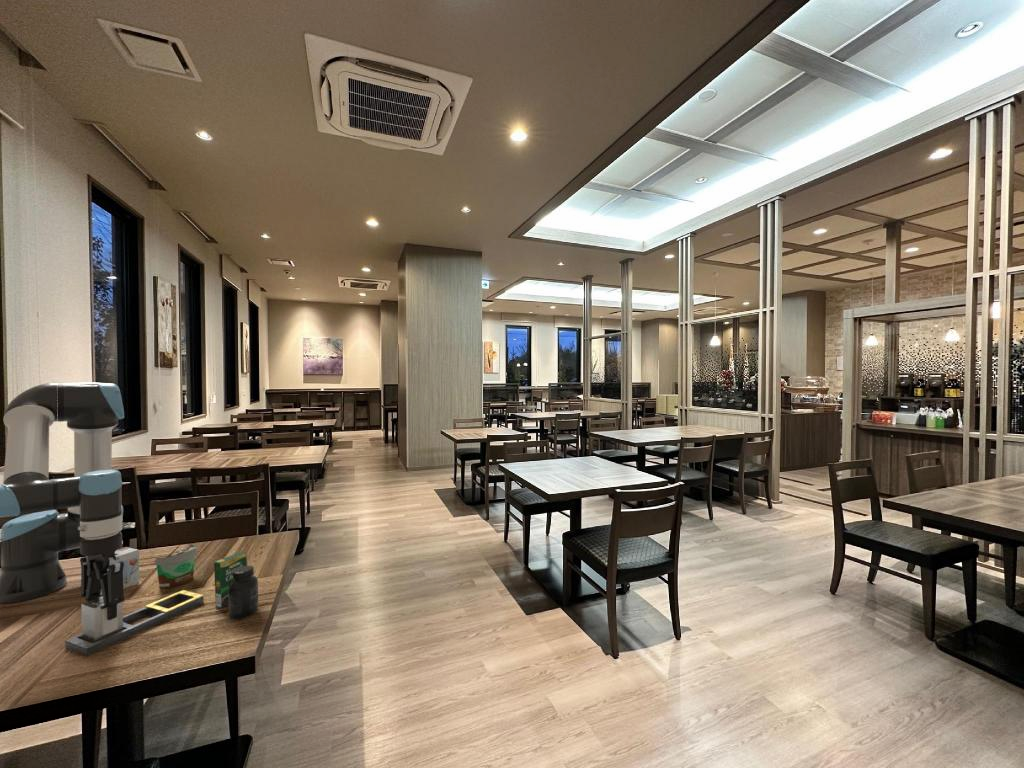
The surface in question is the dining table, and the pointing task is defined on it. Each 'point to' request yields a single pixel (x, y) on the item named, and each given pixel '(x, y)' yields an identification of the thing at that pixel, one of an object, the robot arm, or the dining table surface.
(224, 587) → the coffee box
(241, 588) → the supplement bottle
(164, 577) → the food container
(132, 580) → the light bulb box
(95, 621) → the white rectangular block
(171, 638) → the dining table surface
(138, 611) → the rail
